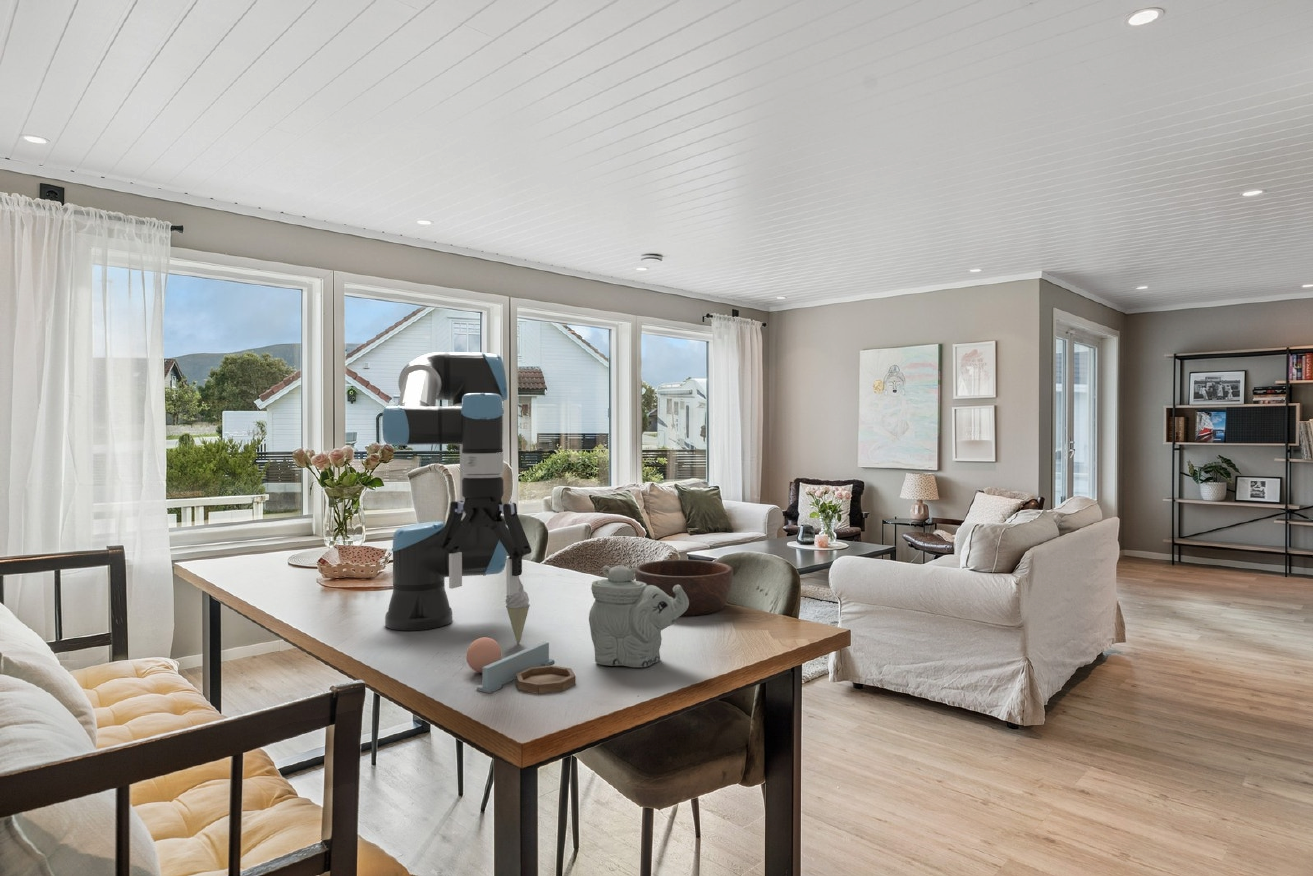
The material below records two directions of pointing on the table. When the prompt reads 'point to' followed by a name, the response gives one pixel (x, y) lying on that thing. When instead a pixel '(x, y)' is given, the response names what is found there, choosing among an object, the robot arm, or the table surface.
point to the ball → (483, 653)
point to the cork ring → (545, 679)
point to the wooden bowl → (690, 582)
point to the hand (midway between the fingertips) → (483, 590)
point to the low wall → (513, 666)
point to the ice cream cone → (518, 611)
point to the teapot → (631, 618)
